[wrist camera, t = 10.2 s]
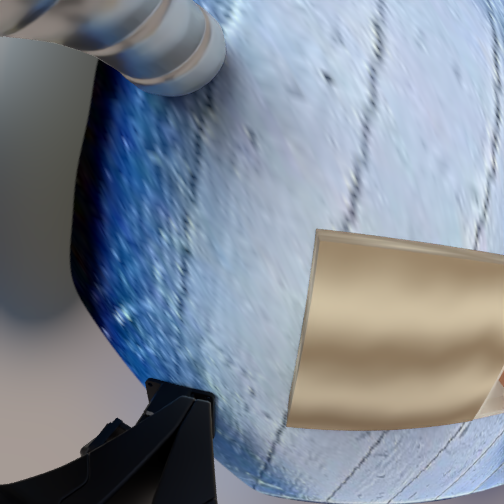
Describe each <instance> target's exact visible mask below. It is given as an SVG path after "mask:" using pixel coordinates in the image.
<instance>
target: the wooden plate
mask: <svg viewBox="0 0 504 504" xmlns="http://www.w3.org/2000/svg"><path fill="white" fill-rule="evenodd" d="M503 366H504V255H500V254H494V253H488V252H482V251H476V250H470V249H463V248H457V247H451V246H444V245H437V244H431V243H424V242H417V241H410V240H403V239H395V238H388V237H380V236H373V235H365V234H357V233H349V232H341V231H332V230H324V229H316V235H315V243H314V251H313V259H312V266H311V273H310V280H309V287H308V294H307V301H306V307H305V313H304V319H303V325H302V331H301V337H300V343H299V348H298V354H297V359H296V365H295V370H294V375H293V380H292V385H291V390H290V395H289V403H288V414H287V424H286V427H294V428H306V429H321V430H348V431H371V430H398V429H412V428H423V427H432V426H441V425H448V424H455V423H461V422H467V421H472V420H473V419H474V417H475V416H476V414H477V412H478V411H479V409H480V408H481V406H482V404H483V403H484V401H485V399H486V398H487V396H488V394H489V392H490V390H491V389H492V387H493V385H494V383H495V381H496V379H497V377H498V376H499V374H500V372H501V370H502V368H503Z"/></svg>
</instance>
